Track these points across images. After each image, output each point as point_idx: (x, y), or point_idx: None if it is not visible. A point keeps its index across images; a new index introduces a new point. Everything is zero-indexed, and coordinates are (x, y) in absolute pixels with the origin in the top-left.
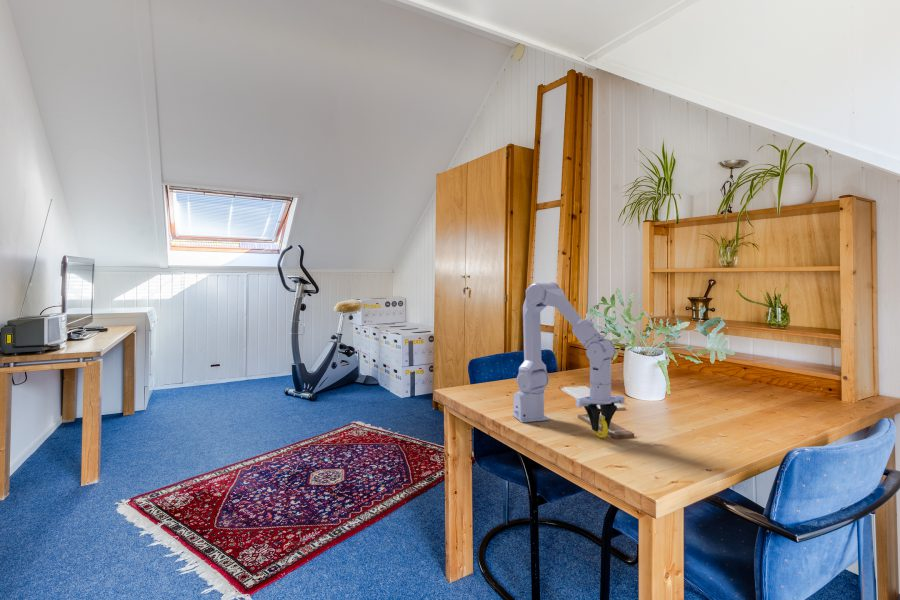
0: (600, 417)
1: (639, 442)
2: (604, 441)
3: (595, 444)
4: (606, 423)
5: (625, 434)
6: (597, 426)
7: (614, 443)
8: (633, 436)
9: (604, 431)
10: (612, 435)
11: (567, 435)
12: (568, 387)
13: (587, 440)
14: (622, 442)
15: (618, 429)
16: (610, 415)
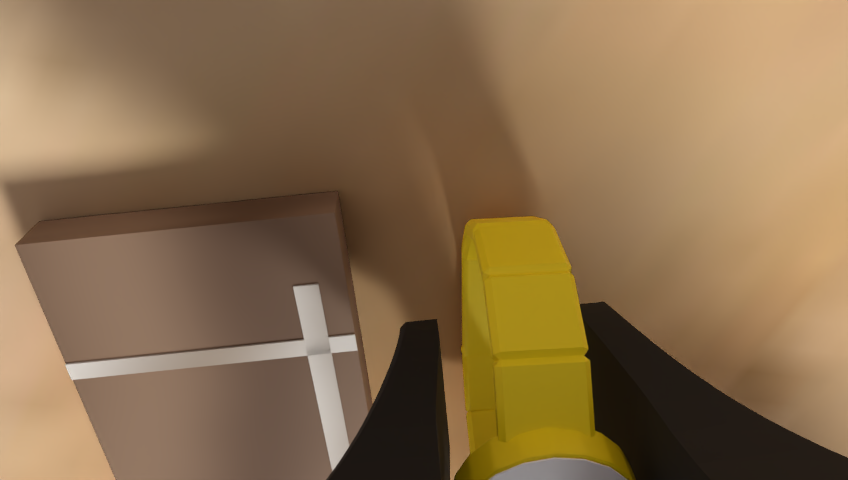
0: (595, 462)
1: (32, 3)
2: (538, 132)
3: (732, 44)
4: (498, 333)
5: (165, 228)
6: (620, 335)
7: (442, 33)
8: (45, 222)
9: (537, 230)
10: (347, 264)
11: (837, 376)
12: None
13: (731, 201)
14: (302, 51)
15: (186, 402)
16: (395, 474)
